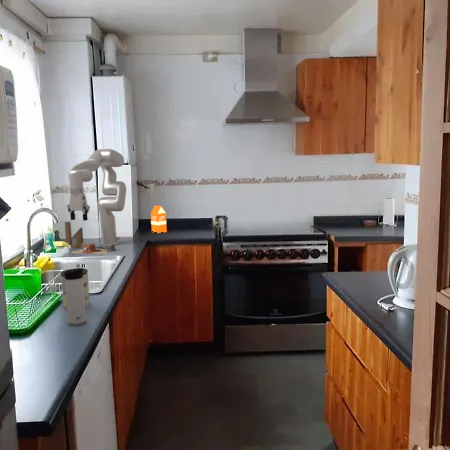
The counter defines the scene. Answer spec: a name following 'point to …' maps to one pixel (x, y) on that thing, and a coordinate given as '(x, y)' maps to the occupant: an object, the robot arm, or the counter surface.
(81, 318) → the travel mug
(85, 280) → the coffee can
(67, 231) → the brown long handled part
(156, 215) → the orange juice
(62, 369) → the counter surface
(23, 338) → the counter surface
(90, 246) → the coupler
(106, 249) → the jig
